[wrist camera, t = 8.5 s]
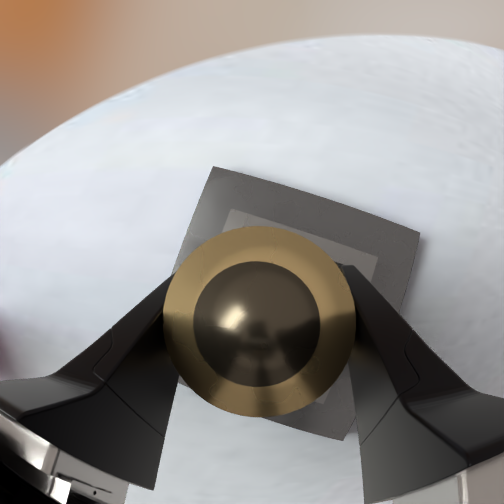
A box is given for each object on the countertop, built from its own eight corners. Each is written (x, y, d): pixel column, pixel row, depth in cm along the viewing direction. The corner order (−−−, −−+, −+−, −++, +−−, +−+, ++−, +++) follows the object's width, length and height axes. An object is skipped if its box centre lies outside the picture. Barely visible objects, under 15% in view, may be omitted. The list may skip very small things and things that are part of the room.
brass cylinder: (342, 309, 15) (395, 326, 6) (275, 370, 15) (250, 448, 7) (280, 244, 16) (258, 186, 7) (216, 305, 16) (129, 315, 8)
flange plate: (414, 235, 17) (429, 227, 14) (340, 434, 16) (345, 452, 13) (217, 171, 20) (206, 156, 17) (149, 361, 18) (131, 369, 16)
